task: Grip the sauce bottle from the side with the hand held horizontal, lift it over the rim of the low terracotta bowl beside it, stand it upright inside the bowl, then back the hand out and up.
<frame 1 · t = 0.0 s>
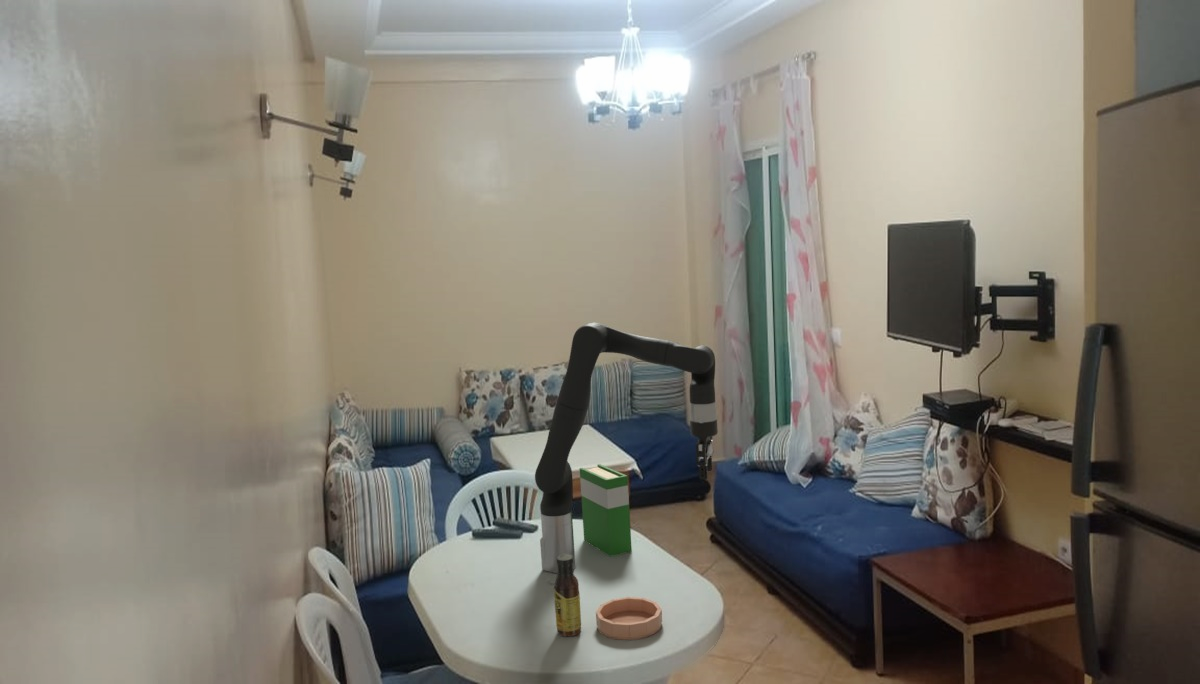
hand: (705, 474, 252), 29 cm above the table, tool pointing down, fingers open, 8 cm apart
sauce bottle: (569, 633, 225), on the table
hardback book: (607, 546, 284), on the table
terracotta bowl: (629, 625, 227), on the table
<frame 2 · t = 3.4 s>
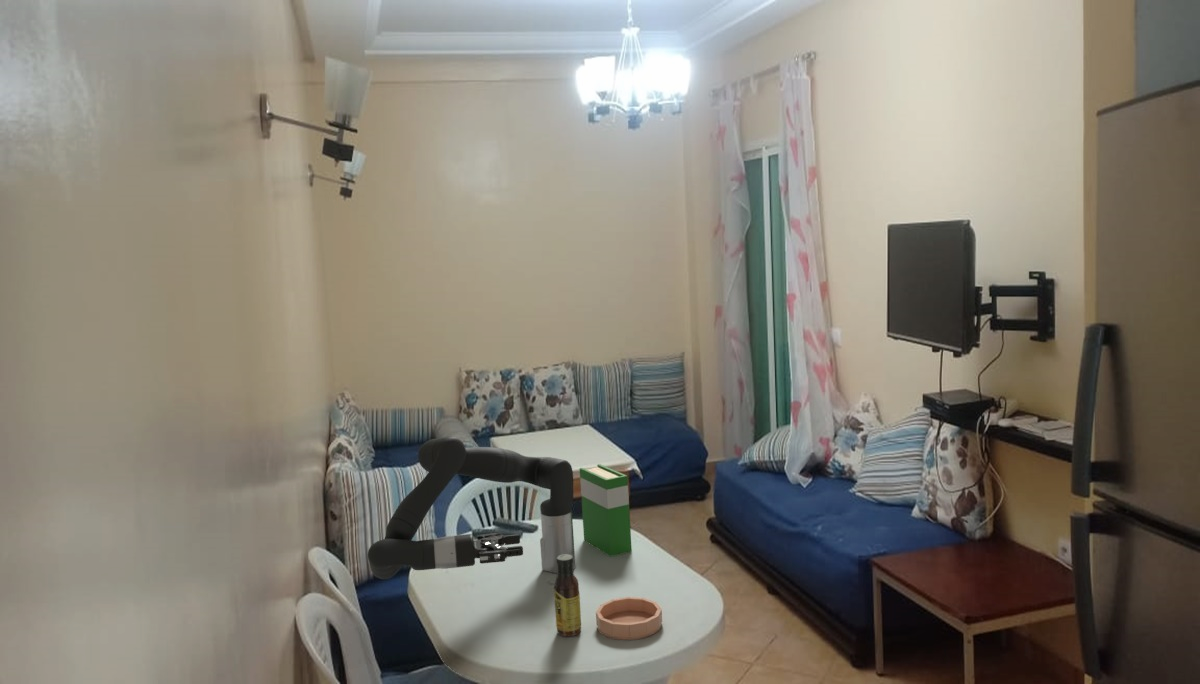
hand: (521, 544, 220), 24 cm above the table, tool horizontal, fingers open, 8 cm apart
nothing on the table moved.
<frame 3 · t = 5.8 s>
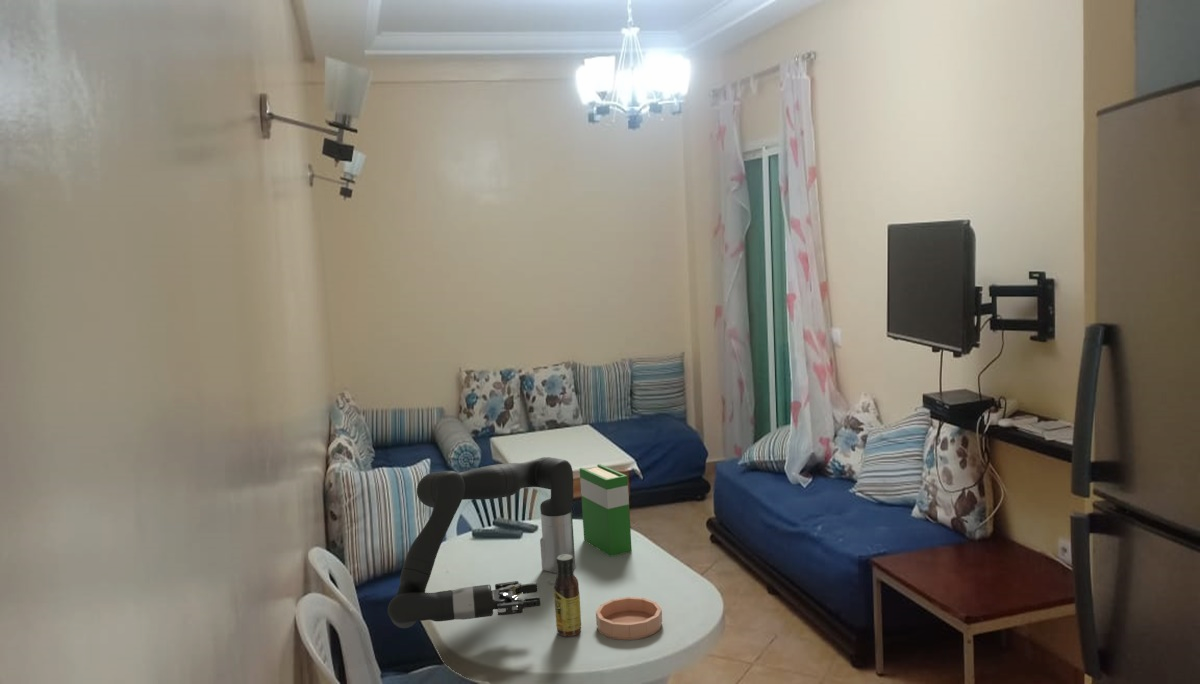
hand: (538, 594, 222), 11 cm above the table, tool horizontal, fingers open, 8 cm apart
nothing on the table moved.
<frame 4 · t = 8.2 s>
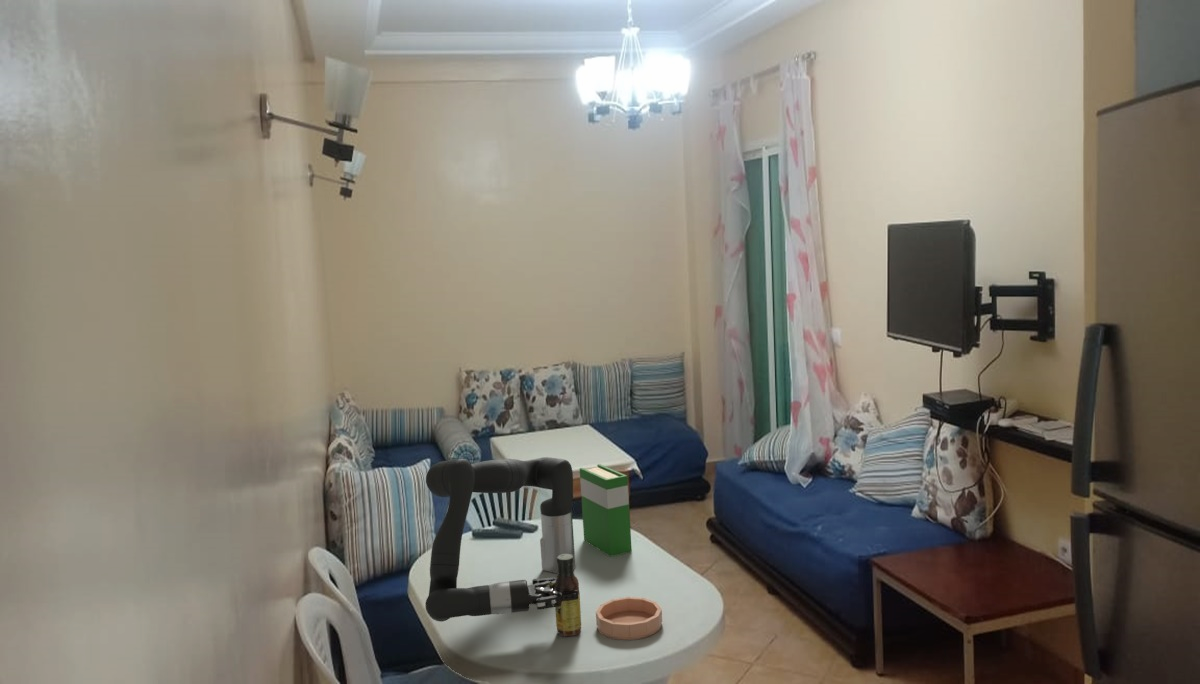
hand: (576, 589, 224), 11 cm above the table, tool horizontal, fingers closed on sauce bottle, 6 cm apart
sauce bottle: (569, 633, 225), on the table, touching gripper
everything else where it was.
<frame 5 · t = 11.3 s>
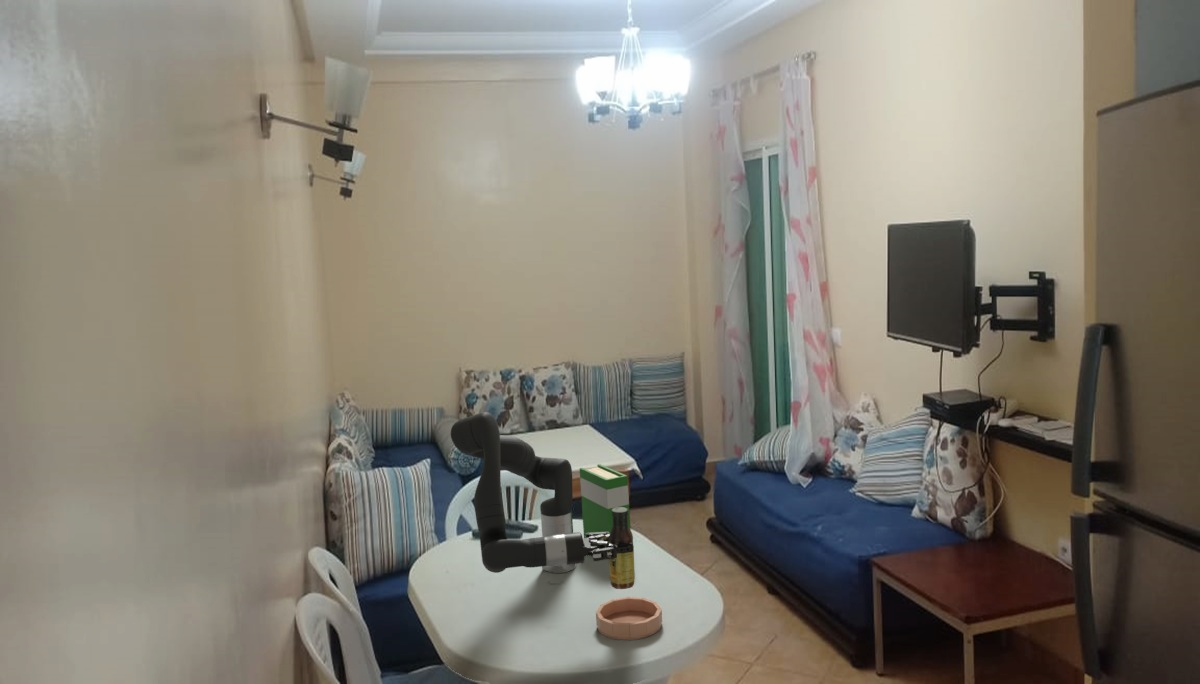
hand: (630, 542, 224), 22 cm above the table, tool horizontal, fingers closed on sauce bottle, 6 cm apart
sauce bottle: (622, 586, 225), point 10 cm above the table, touching gripper
everything else where it was.
when the fingers open (13 cm above the table, at t = 14.4 s): sauce bottle drops 1 cm, resting on terracotta bowl.
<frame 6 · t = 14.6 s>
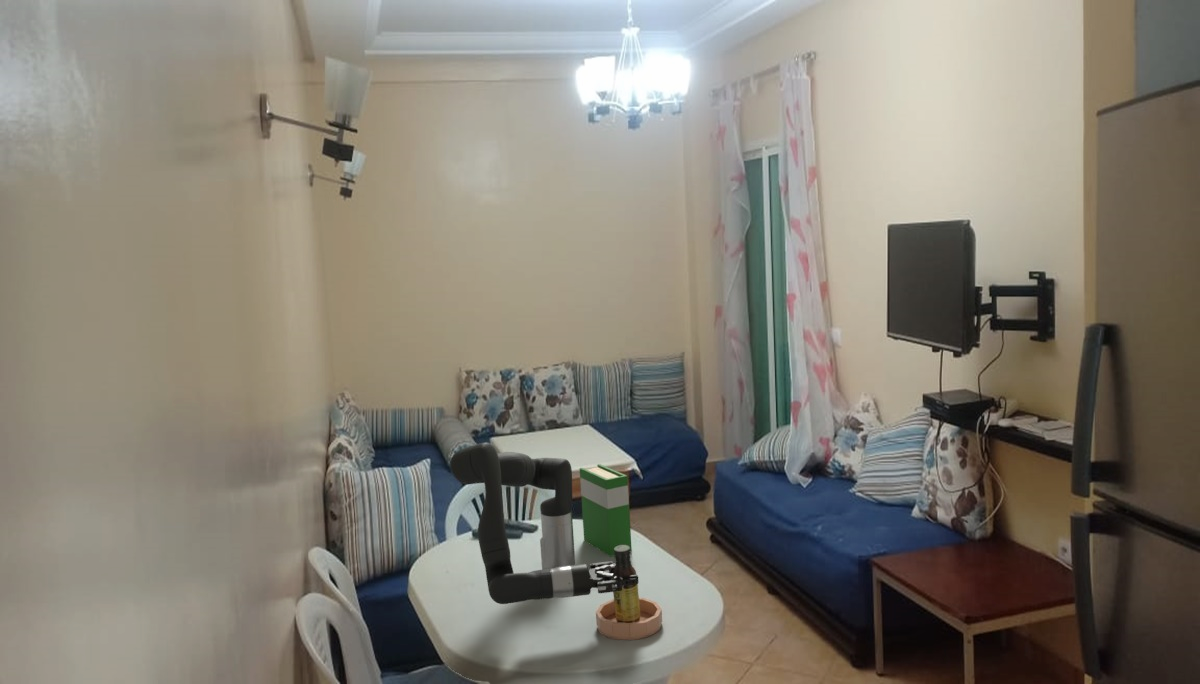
hand: (634, 573, 225), 13 cm above the table, tool horizontal, fingers open, 7 cm apart
sauce bottle: (628, 622, 226), point 1 cm above the table, touching terracotta bowl
everything else where it was.
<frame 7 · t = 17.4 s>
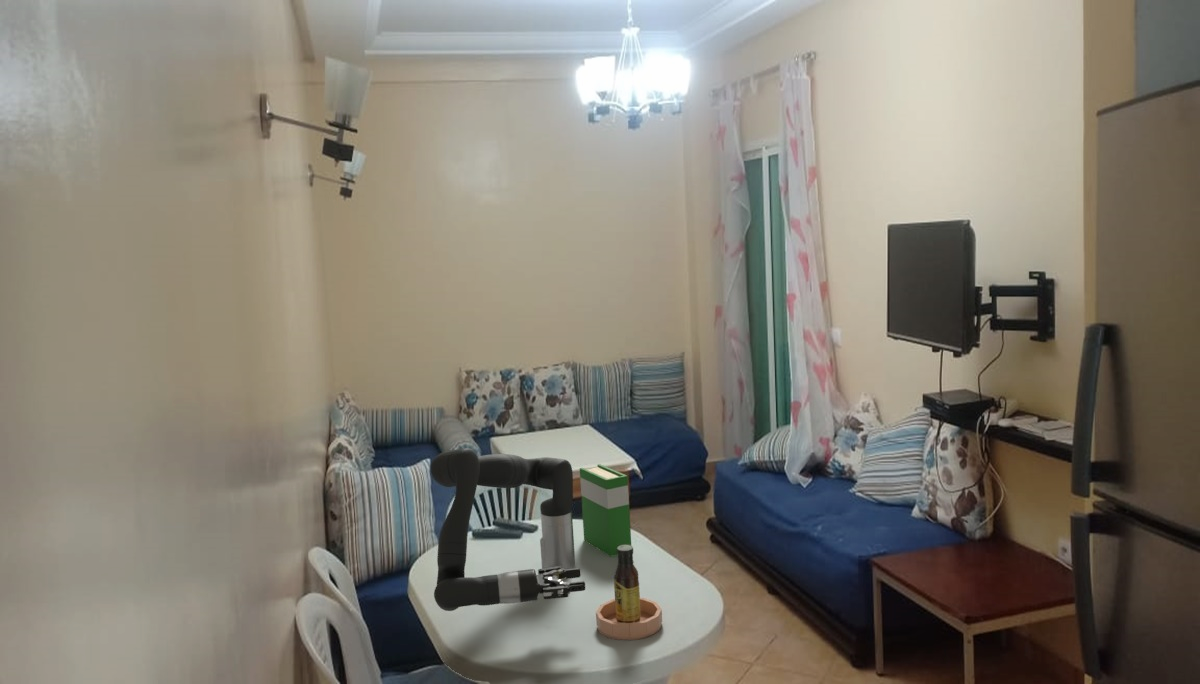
hand: (582, 578, 223), 14 cm above the table, tool horizontal, fingers open, 8 cm apart
nothing on the table moved.
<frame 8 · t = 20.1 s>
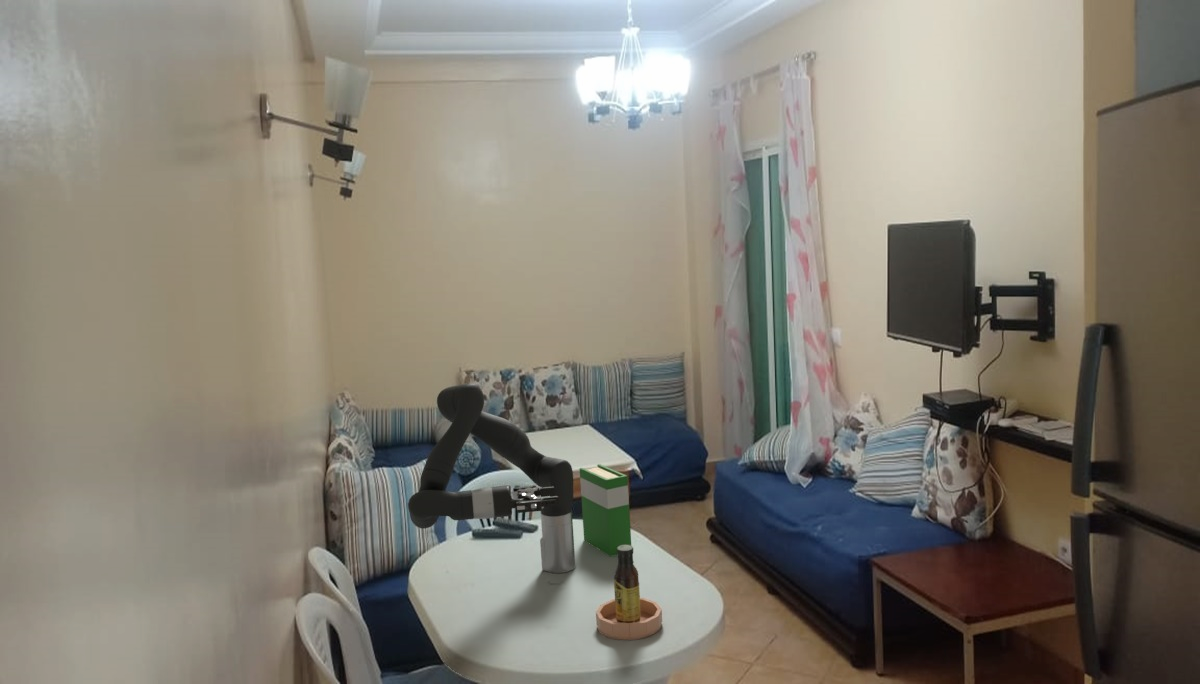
hand: (556, 495, 225), 34 cm above the table, tool horizontal, fingers open, 8 cm apart
nothing on the table moved.
at the end: sauce bottle inside the target area on the terracotta bowl (0.2 cm from its centre), point 0.6 cm above the terracotta bowl's base; sauce bottle tilted 0°; the gripper is holding nothing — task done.
